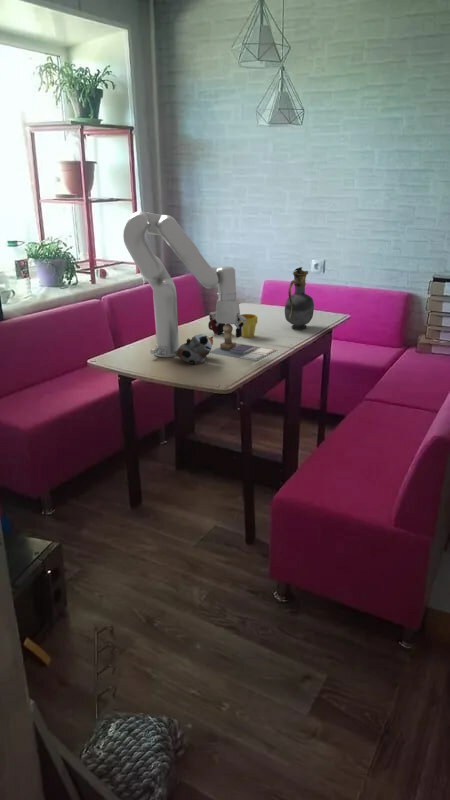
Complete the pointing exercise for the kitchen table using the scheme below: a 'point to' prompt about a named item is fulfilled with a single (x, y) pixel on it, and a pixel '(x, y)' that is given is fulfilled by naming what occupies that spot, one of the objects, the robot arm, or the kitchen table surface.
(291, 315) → the pitcher
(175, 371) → the kitchen table surface
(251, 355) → the paper sheet
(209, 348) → the lucky cat figurine
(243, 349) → the ink pad
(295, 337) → the kitchen table surface
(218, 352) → the desk mat
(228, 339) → the stamp
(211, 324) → the mug
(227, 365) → the kitchen table surface
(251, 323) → the plant pot
